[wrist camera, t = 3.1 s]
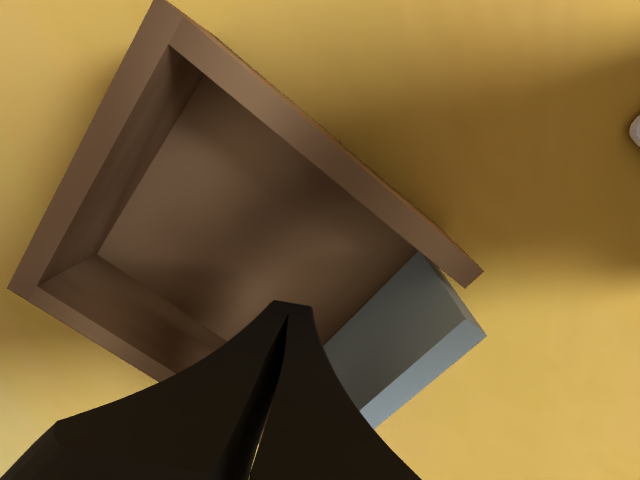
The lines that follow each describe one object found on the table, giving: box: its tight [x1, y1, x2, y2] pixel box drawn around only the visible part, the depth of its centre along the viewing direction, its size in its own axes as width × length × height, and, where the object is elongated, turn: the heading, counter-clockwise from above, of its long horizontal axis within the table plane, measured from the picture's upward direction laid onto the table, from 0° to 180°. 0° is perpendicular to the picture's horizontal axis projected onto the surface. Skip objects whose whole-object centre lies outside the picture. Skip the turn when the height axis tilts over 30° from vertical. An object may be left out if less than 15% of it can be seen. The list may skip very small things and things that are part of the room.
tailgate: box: [323, 251, 487, 429], centre depth 12 cm, size 1×9×5 cm, turn 142°
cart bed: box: [7, 0, 484, 444], centre depth 13 cm, size 12×11×4 cm
